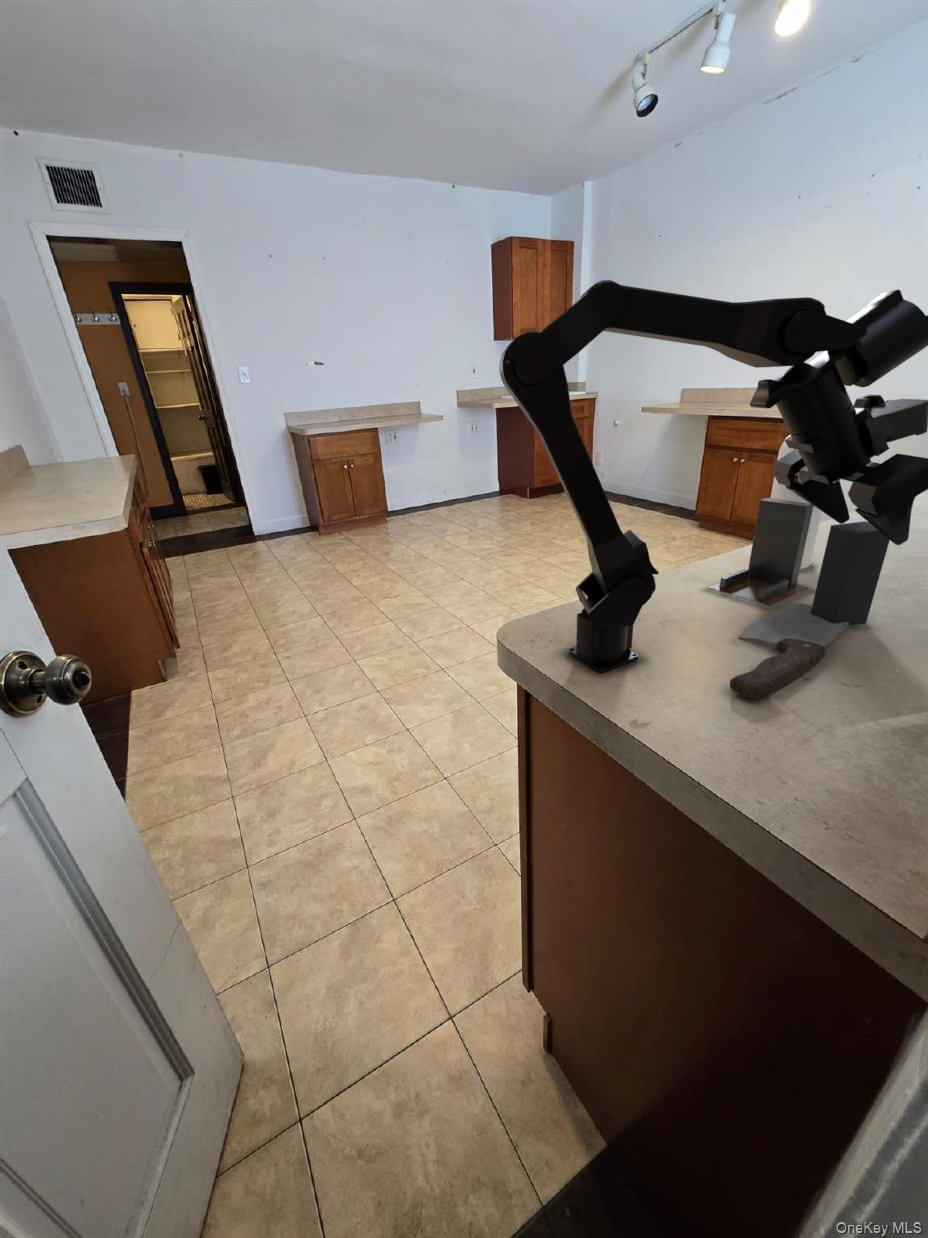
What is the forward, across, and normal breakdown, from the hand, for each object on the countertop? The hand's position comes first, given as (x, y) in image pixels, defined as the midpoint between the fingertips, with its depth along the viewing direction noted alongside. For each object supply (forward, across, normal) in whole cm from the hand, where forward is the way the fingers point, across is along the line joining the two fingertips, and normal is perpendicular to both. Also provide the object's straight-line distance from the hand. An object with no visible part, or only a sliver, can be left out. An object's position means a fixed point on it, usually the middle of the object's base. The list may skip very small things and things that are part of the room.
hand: (871, 531), depth 59 cm
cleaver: (+8, -1, +15) cm, 17 cm away
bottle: (+17, +29, +1) cm, 34 cm away
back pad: (+13, +6, +6) cm, 15 cm away
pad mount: (+12, +18, +9) cm, 24 cm away
